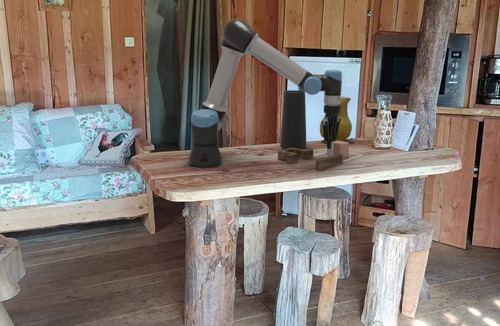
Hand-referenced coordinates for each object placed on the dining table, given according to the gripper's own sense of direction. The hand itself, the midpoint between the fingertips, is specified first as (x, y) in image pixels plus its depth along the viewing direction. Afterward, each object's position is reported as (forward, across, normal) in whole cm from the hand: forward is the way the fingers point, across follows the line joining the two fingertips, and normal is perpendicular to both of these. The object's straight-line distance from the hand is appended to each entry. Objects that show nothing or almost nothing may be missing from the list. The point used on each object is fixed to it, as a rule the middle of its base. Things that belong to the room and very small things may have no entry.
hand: (330, 155), depth 228 cm
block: (+2, +6, 0) cm, 7 cm away
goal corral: (+2, +7, 0) cm, 8 cm away
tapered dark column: (+2, +8, +28) cm, 29 cm away
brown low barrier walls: (+2, -13, +4) cm, 13 cm away
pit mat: (+2, -12, +12) cm, 17 cm away
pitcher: (+2, +36, +20) cm, 42 cm away
